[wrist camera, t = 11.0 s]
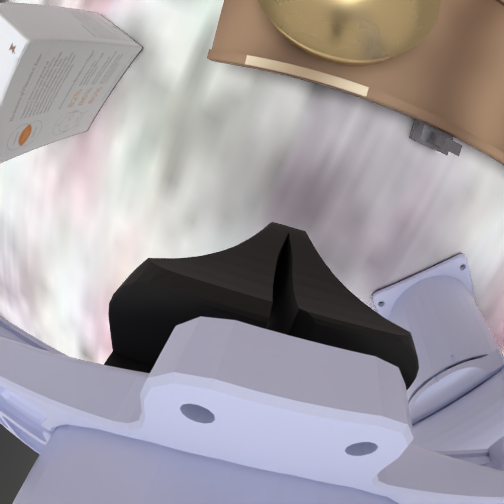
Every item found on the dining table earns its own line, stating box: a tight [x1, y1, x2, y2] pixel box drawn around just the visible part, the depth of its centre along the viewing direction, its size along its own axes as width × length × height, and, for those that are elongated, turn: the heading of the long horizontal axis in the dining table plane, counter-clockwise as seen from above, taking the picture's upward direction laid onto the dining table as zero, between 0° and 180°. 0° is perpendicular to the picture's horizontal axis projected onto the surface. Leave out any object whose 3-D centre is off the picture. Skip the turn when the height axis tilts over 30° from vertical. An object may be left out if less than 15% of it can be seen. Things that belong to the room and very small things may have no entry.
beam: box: [207, 0, 504, 165], centre depth 11 cm, size 26×10×2 cm, turn 77°
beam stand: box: [409, 119, 462, 156], centre depth 12 cm, size 2×12×4 cm, turn 167°
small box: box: [0, 3, 142, 163], centre depth 14 cm, size 8×6×10 cm
